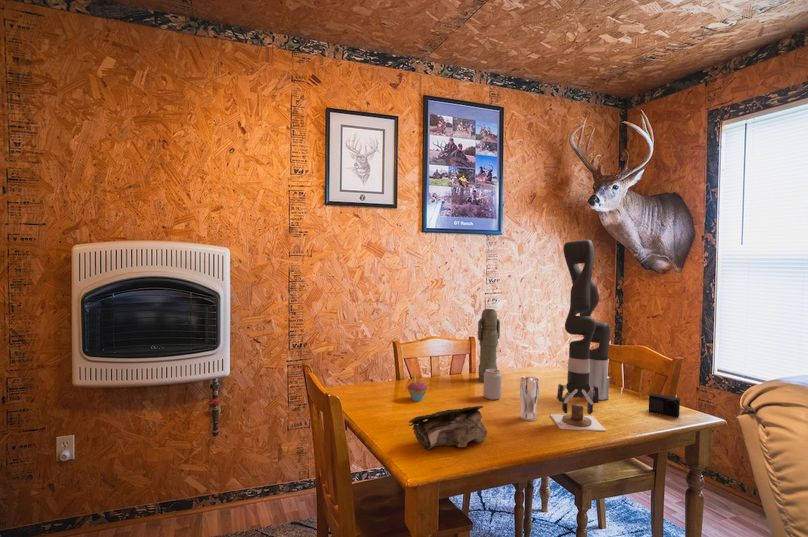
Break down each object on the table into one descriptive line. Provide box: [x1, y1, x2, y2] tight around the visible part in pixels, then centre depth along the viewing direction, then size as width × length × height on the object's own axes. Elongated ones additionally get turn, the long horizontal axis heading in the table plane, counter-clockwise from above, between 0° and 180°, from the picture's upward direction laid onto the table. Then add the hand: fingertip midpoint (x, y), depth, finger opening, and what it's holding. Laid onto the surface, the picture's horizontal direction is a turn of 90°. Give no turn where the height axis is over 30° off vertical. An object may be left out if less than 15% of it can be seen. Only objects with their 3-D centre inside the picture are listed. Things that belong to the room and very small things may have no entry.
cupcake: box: [406, 371, 428, 402], centre depth 191 cm, size 9×8×12 cm
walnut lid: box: [563, 403, 592, 427], centre depth 168 cm, size 10×10×6 cm
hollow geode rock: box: [408, 405, 488, 451], centre depth 145 cm, size 28×13×15 cm
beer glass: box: [519, 376, 540, 422], centre depth 172 cm, size 7×7×15 cm
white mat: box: [550, 413, 607, 432], centre depth 168 cm, size 16×14×1 cm
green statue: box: [477, 308, 501, 383], centre depth 223 cm, size 9×12×35 cm
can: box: [482, 368, 503, 401], centre depth 196 cm, size 8×8×12 cm
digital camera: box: [648, 392, 681, 419], centre depth 180 cm, size 10×5×7 cm, turn 54°
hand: (577, 413), depth 168 cm, fingers open, 8 cm apart
